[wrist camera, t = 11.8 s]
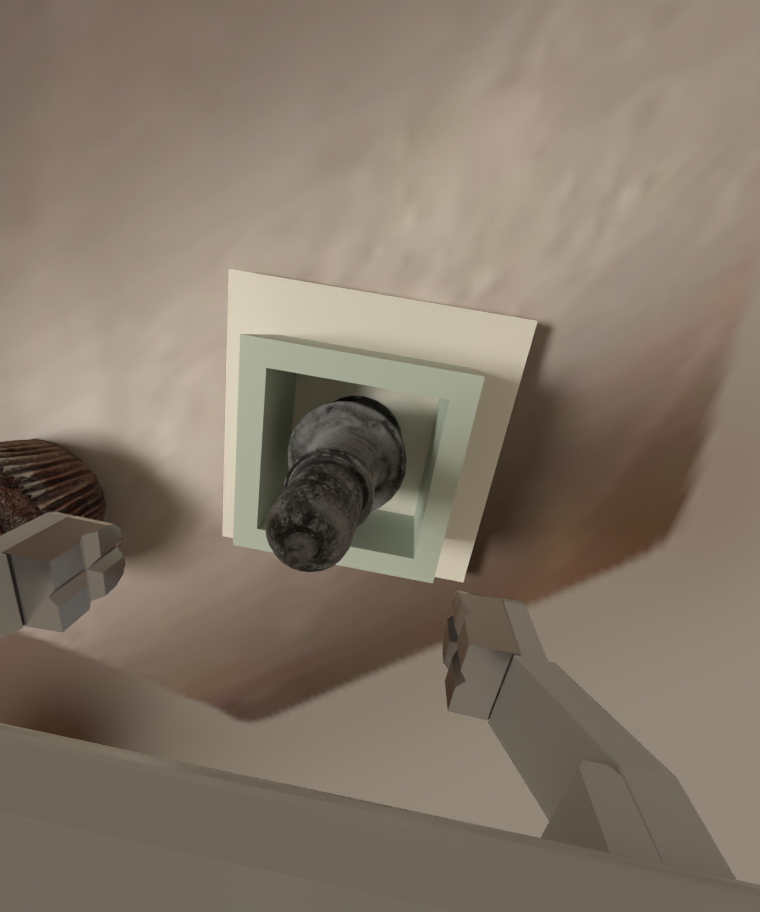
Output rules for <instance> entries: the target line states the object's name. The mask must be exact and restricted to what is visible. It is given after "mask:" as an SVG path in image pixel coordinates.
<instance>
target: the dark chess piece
mask: <svg viewBox="0 0 760 912" xmlns="http://www.w3.org/2000/svg"><path fill="white" fill-rule="evenodd" d="M406 461H407V457H406V452H405V447H404V442H403V439H402V434H401V428H400V426H399V424H398V422H397V420H396V418H395V416H394V415H393V414H392V413H391V412H390V410H389V409H388V408H387V407H385V406H384V405H382V404H381V403H379V402H378V401H376V400H373V399H371V398H368V397H364V396H348V397H343V398H340V399H338V400H336V401H334V402H332V403H327V404H323V405H321V406H319V407H317V408H315V409H313V410H311V411H310V412H309V413H308V414H307V415H306V416H304V417H303V418H302V419H301V420H300V421H299V422H298V424H297V426H296V427H295V429H294V431H293V432H292V434H291V437H290V441H289V445H288V466H289V471H288V473H287V475H286V479H285V483H284V491H283V492H282V493H281V494H280V496H279V497H278V498H277V499H276V500H275V502H274V503H273V505H272V507H271V508H270V510H269V513H268V516H267V520H266V524H265V529H266V537H267V541H268V544H269V546H270V547H271V549H272V551H273V552H274V554H275V555H276V557H277V558H278V559H279V560H281V561H282V562H283V563H284V564H286V565H287V566H289V567H291V568H293V569H296V570H299V571H305V572H315V571H323V570H325V569H328V568H330V567H333V566H334V565H335V564H337V563H338V562H339V561H340V560H341V559H342V558H343V557H344V555H345V554H346V552H347V551H348V550H349V548H350V545H351V543H352V540H353V537H354V533H355V530H356V528H357V527H358V526H360V525H361V524H362V523H364V521H365V520H366V519H367V517H368V516H369V514H370V512H371V511H373V510H376V509H378V508H380V507H382V506H383V505H384V504H386V503H387V502H388V501H389V500H391V499H392V498H393V496H394V495H395V494H396V492H397V491H398V490H399V488H400V486H401V484H402V481H403V479H404V476H405V472H406Z"/></svg>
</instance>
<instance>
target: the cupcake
mask: <svg viewBox="0 0 760 912" xmlns="http://www.w3.org/2000/svg"><path fill="white" fill-rule="evenodd" d="M104 510H105V501H104V497H103V490H102V488H101V487H100V485H99V484H98V482H97V479H96V476H95V474H93V473H92V472H91V471H90V470H89V468H88V466H87V464H86V463H84V462H82V461H80V460H77V459H76V458H75V457H73V456H72V455H71V454H70V453H68V452H67V451H66V450H65V449H63V448H62V447H60V446H57V445H55V444H52V443H47V442H46V441H44V440H43V441H40V440H37V439H31V440H14V441H4V442H0V536H1V535H3V534H5V533H7V532H9V531H11V530H13V529H15V528H17V527H19V526H21V525H23V524H25V523H27V522H29V521H31V520H33V519H35V518H37V517H40V516H42V515H44V514H46V513H50V512H59V513H64V514H69V515H73V516H79V517H84V518H88V519H93V520H97V521H102V516H103V515H104Z"/></svg>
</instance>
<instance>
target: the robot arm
mask: <svg viewBox="0 0 760 912" xmlns="http://www.w3.org/2000/svg"><path fill="white" fill-rule="evenodd" d="M122 541H123V539H122V533H121V528H120V527H118V526H117V525H115V524H111V523H107V522H102V521H97V520H93V519H88V518H84V517H79V516H73V515H69V514H64V513H59V512H50V513H46V514H44V515H42V516H40V517H37V518H35V519H33V520H31V521H29V522H27V523H25V524H23V525H21V526H19V527H17V528H15V529H13V530H11V531H9V532H7V533H5V534H3V535H1V536H0V638H2V637H4V636H6V635H9V634H11V633H13V632H15V631H17V630H19V629H22V628H23V626H28V627H34V628H40V629H46V630H51V631H57V632H64V631H65V630H66V629H67V628H68V627H69V626H71V625H72V624H73V623H74V622H75V621H76V620H78V619H79V618H80V617H81V616H82V615H83V614H85V613H86V612H87V611H88V610H89V608H90V603H91V601H93V600H95V599H98V598H100V597H103V596H105V595H107V594H108V593H109V592H110V591H111V590H112V589H113V588H114V587H116V585H117V583H118V582H119V580H120V578H121V577H122V575H123V571H124V566H125V560H124V555H123V554H122V552H121V551H120V550H119V549H118V545H119V544H120V543H121V542H122ZM452 611H453V616H451V617H450V618H449V619H447V623H446V627H445V631H444V638H443V662H444V664H445V666H446V667H447V668H448V673H447V676H446V680H445V686H446V696H447V707H448V711H450V712H455V713H459V714H463V715H467V716H472V717H476V718H480V719H485V720H489V722H488V723H489V725H490V726H491V728H492V730H493V731H494V733H495V734H496V736H497V738H498V739H499V741H500V742H501V744H502V746H503V747H504V749H505V751H506V752H507V754H508V755H509V757H510V759H511V760H512V762H513V764H514V765H515V766H516V768H517V770H518V772H519V773H520V775H521V776H522V778H523V779H524V781H525V783H526V784H527V786H528V788H529V789H530V791H531V792H532V794H533V796H534V797H535V799H536V800H537V802H538V804H539V805H540V807H541V809H542V810H543V812H544V813H545V815H546V817H547V818H548V820H549V824H548V825H547V827H546V829H545V831H544V832H543V834H542V836H541V838H538V837H533V836H528V835H524V834H519V833H514V832H509V831H505V830H500V829H495V828H491V827H486V826H481V825H477V824H472V823H467V822H463V821H458V820H453V819H448V818H444V817H439V816H434V815H429V814H425V813H420V812H415V811H411V810H406V809H401V808H397V807H392V806H388V805H383V804H378V803H373V802H369V801H364V800H359V799H354V798H350V797H345V796H340V795H336V794H331V793H326V792H322V791H317V790H312V789H307V788H303V787H298V786H293V785H288V784H284V783H279V782H274V781H270V780H265V779H260V778H255V777H251V776H246V775H241V774H236V773H232V772H227V771H222V770H217V769H213V768H208V767H203V766H198V765H194V764H189V763H185V762H180V761H175V760H170V759H165V758H161V757H156V756H152V755H147V754H142V753H137V752H133V751H128V750H123V749H119V748H114V747H110V746H104V745H100V744H95V743H91V742H86V741H81V740H77V739H72V738H67V737H62V736H58V735H53V734H48V733H44V732H39V731H35V730H29V729H25V728H20V727H16V726H11V725H6V724H1V723H0V912H760V885H758V884H753V883H748V882H744V881H740V880H736V878H735V876H734V875H733V873H732V871H731V870H730V868H729V866H728V864H727V863H726V861H725V859H724V858H723V856H722V854H721V852H720V851H719V849H718V847H717V846H716V844H715V842H714V840H713V839H712V837H711V835H710V834H709V832H708V830H707V828H706V827H705V825H704V823H703V822H702V820H701V818H700V817H699V815H698V813H697V811H696V810H695V808H694V806H693V804H692V803H691V801H690V799H689V798H688V796H687V794H686V793H685V791H684V789H683V787H682V786H681V784H680V782H679V780H678V779H677V777H676V776H675V775H674V774H673V773H672V772H670V771H669V770H668V769H667V768H666V767H665V766H664V765H663V764H662V763H661V762H660V761H659V760H658V759H657V758H656V757H654V756H653V755H652V754H651V753H650V752H649V751H648V750H647V749H646V748H645V747H644V746H643V745H642V744H641V743H640V742H639V741H637V739H636V738H634V737H633V736H632V735H631V734H630V733H629V732H628V731H627V730H626V729H625V728H624V727H623V726H622V725H620V724H619V722H617V721H616V720H615V719H614V718H613V717H612V716H611V715H610V714H609V713H608V712H607V711H606V710H605V709H604V708H602V706H601V705H599V704H598V703H597V702H596V701H595V700H594V699H593V698H592V697H591V696H590V695H589V694H588V693H587V692H586V691H585V690H583V689H582V688H581V687H580V686H579V685H578V684H577V683H576V682H575V681H574V680H573V679H572V678H571V677H570V676H569V675H567V673H566V672H565V671H564V670H562V669H561V668H560V667H559V666H558V665H557V664H556V663H553V662H549V661H548V659H547V657H546V654H545V652H544V650H543V647H542V645H541V643H540V640H539V638H538V635H537V633H536V630H535V628H534V626H533V623H532V620H531V618H530V616H529V613H528V611H527V608H526V606H525V604H524V603H523V602H521V601H515V600H509V599H503V598H500V599H498V598H493V597H488V596H483V595H477V594H472V593H467V592H461V591H457V592H456V593H455V595H454V598H453V602H452Z"/></svg>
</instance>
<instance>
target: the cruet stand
mask: <svg viewBox="0 0 760 912" xmlns="http://www.w3.org/2000/svg"><path fill="white" fill-rule="evenodd" d="M537 322H538V321H535V320H529V319H523V318H517V317H511V316H505V315H500V314H494V313H488V312H482V311H476V310H470V309H464V308H458V307H452V306H446V305H440V304H434V303H428V302H422V301H416V300H410V299H404V298H399V297H393V296H387V295H381V294H375V293H369V292H363V291H357V290H351V289H345V288H339V287H333V286H327V285H321V284H315V283H309V282H303V281H298V280H292V279H286V278H280V277H274V276H268V275H262V274H256V273H250V272H244V271H238V270H232V269H229V281H228V324H227V366H226V408H225V451H224V493H223V535H222V536H225V537H230V538H233V545H236V546H242V547H247V548H252V549H257V550H262V551H268V552H273V551H272V549H271V547H270V546H269V544H268V541H267V537H266V529H265V524H266V520H267V516H268V513H269V510H270V508H271V507H272V505H273V503H274V502H275V500H276V499H277V498H278V497H279V496H280V494H281V493H282V492H283V491H284V483H285V479H286V475H287V473H288V471H289V466H288V445H289V441H290V437H291V434H292V432H293V431H294V429H295V427H296V426H297V424H298V422H299V421H300V420H301V419H302V418H303V417H304V416H306V415H307V414H308V413H309V412H310V411H311V410H313V409H315V408H317V407H319V406H321V405H323V404H327V403H332V402H334V401H336V400H338V399H340V398H343V397H348V396H364V397H368V398H371V399H373V400H376V401H378V402H379V403H381V404H382V405H384V406H385V407H387V408H388V409H389V410H390V412H391V413H392V414H393V415H394V416H395V418H396V420H397V422H398V424H399V426H400V428H401V434H402V439H403V442H404V447H405V452H406V457H407V461H406V472H405V476H404V479H403V481H402V484H401V486H400V488H399V490H398V491H397V492H396V494H395V495H394V496H393V498H392V499H391V500H389V501H388V502H387V503H386V504H384V505H383V506H382V507H380V508H378V509H376V510H373V511H371V512H370V514H369V516H368V517H367V519H366V520H365V521H364V523H362V524H361V525H360V526H358V527H357V528H356V530H355V533H354V537H353V540H352V543H351V545H350V548H349V550H348V551H347V552H346V554H345V555H344V557H343V558H342V559H341V560H340V561H339V562H338V563H337V564H335V565H340V566H345V567H351V568H356V569H361V570H366V571H371V572H377V573H382V574H387V575H392V576H397V577H403V578H408V579H413V580H418V581H423V582H428V583H433V581H434V577H438V578H443V579H449V580H454V581H459V582H464V578H465V574H466V571H467V567H468V564H469V560H470V557H471V553H472V550H473V546H474V543H475V539H476V536H477V532H478V529H479V525H480V522H481V518H482V515H483V511H484V508H485V504H486V501H487V497H488V494H489V490H490V487H491V483H492V480H493V476H494V473H495V469H496V466H497V462H498V459H499V455H500V452H501V448H502V445H503V441H504V438H505V434H506V431H507V427H508V423H509V420H510V416H511V413H512V409H513V406H514V402H515V399H516V395H517V392H518V388H519V385H520V381H521V378H522V374H523V371H524V367H525V364H526V360H527V357H528V353H529V350H530V346H531V343H532V339H533V336H534V332H535V329H536V325H537ZM273 553H274V552H273Z"/></svg>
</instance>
